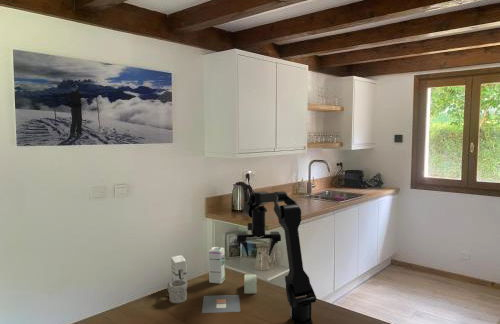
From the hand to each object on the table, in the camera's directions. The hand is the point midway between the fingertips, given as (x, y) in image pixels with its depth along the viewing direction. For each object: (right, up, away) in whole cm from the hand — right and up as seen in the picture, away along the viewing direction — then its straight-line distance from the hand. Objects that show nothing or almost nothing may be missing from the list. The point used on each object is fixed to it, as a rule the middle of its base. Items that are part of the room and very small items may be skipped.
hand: (258, 256), depth 157 cm
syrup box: (-18, -12, +4) cm, 22 cm away
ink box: (-34, -12, -2) cm, 36 cm away
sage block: (-4, -13, -5) cm, 14 cm away
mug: (-33, -13, -13) cm, 38 cm away
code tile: (-15, -13, -18) cm, 27 cm away
